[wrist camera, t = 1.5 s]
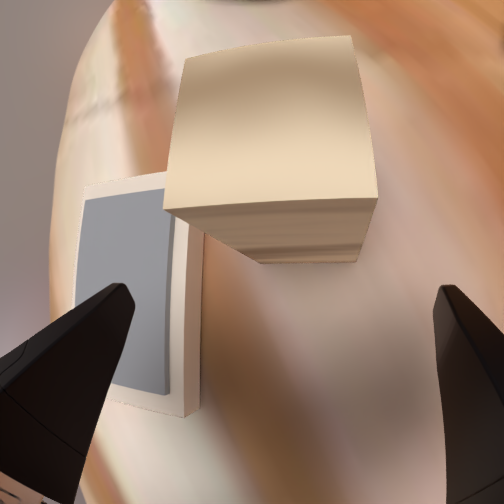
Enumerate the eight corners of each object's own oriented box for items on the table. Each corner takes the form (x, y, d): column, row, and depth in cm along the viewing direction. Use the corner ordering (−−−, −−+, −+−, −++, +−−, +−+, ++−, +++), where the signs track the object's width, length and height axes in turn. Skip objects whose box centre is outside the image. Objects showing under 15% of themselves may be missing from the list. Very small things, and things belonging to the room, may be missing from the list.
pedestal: (199, 408, 20) (179, 420, 17) (92, 383, 23) (67, 388, 20) (207, 180, 23) (189, 163, 20) (102, 194, 25) (79, 183, 22)
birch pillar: (355, 262, 19) (377, 197, 8) (260, 263, 21) (162, 209, 9) (351, 171, 20) (350, 35, 9) (262, 175, 22) (185, 58, 10)
